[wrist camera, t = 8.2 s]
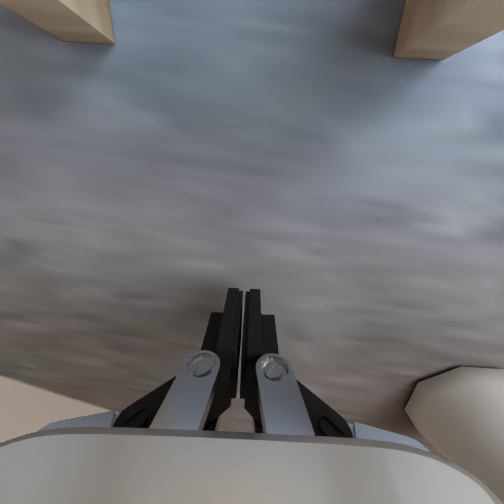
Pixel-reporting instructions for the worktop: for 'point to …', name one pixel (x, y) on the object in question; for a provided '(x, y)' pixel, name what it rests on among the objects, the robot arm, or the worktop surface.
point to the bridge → (407, 46)
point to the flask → (464, 420)
